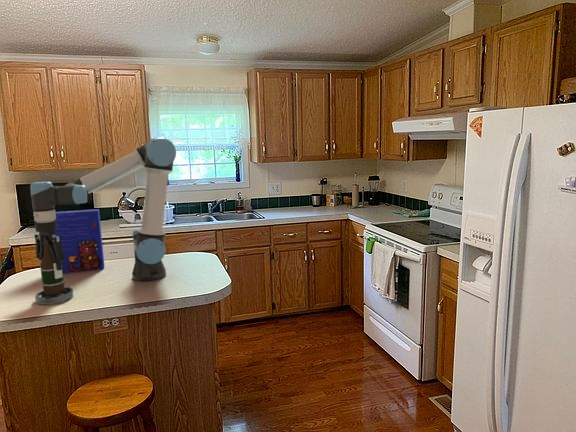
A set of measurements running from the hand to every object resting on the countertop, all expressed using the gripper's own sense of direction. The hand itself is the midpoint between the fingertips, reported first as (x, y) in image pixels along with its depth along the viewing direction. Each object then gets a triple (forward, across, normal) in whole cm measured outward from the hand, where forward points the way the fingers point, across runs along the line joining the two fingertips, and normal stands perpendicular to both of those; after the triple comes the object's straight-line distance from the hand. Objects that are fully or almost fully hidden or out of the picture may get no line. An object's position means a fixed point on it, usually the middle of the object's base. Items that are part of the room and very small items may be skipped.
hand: (52, 276), depth 171 cm
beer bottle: (+7, 0, 0) cm, 7 cm away
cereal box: (+10, -27, +30) cm, 42 cm away
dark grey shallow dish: (+10, 0, 0) cm, 10 cm away
